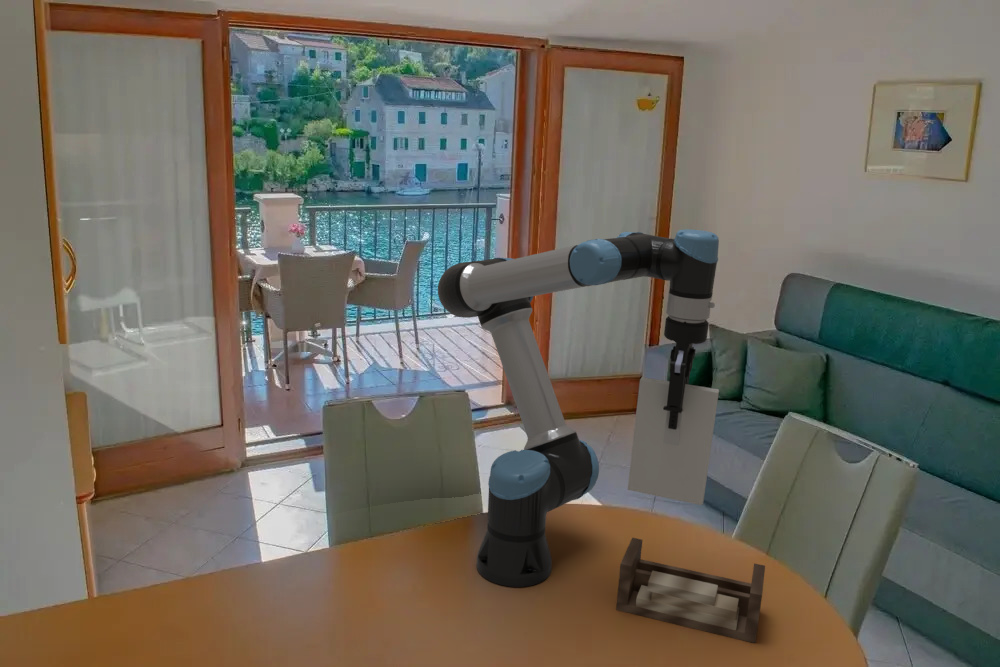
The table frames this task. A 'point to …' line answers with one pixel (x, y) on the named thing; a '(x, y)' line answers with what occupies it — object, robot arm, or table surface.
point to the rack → (640, 571)
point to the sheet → (667, 464)
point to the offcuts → (688, 600)
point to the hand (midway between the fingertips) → (671, 441)
